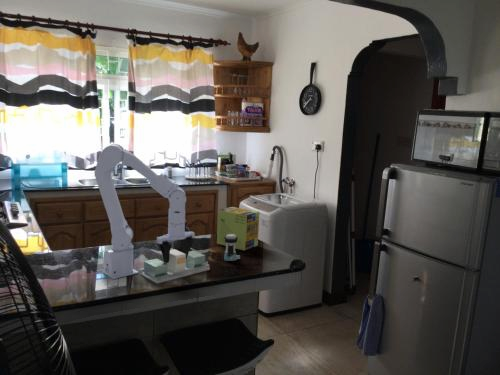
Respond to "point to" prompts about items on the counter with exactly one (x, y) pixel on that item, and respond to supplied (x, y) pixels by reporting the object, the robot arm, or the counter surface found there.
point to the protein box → (238, 227)
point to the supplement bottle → (177, 243)
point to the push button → (230, 247)
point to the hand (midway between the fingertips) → (175, 260)
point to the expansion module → (176, 261)
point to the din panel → (161, 273)
